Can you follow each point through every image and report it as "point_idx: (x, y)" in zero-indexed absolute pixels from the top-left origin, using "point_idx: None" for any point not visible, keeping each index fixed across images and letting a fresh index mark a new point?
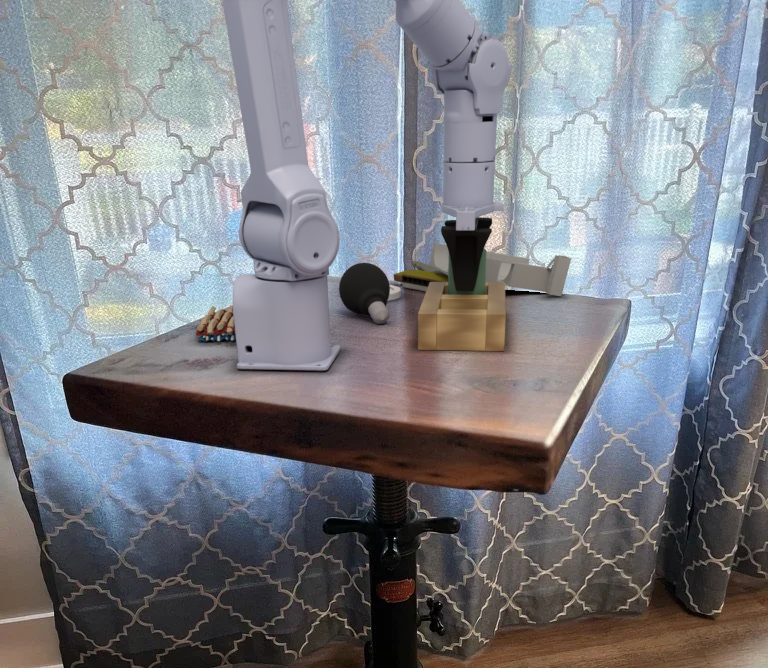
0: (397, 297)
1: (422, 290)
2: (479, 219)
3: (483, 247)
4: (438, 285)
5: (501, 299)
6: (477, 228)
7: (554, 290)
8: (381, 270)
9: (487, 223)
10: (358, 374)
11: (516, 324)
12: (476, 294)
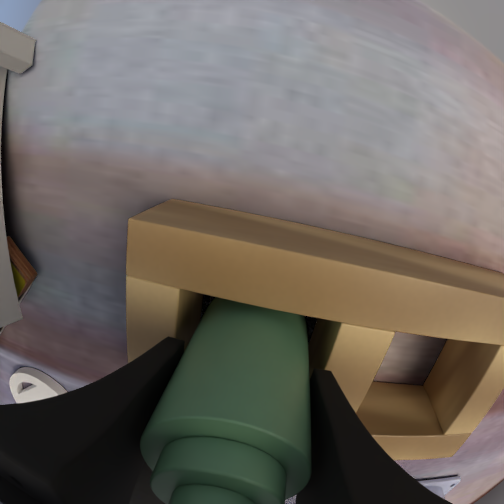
0: (54, 381)
1: (4, 327)
2: (45, 501)
3: (414, 480)
4: None
5: (422, 292)
6: (92, 488)
7: (26, 52)
8: (145, 497)
9: (66, 482)
10: (483, 450)
11: (289, 181)
12: (305, 348)
